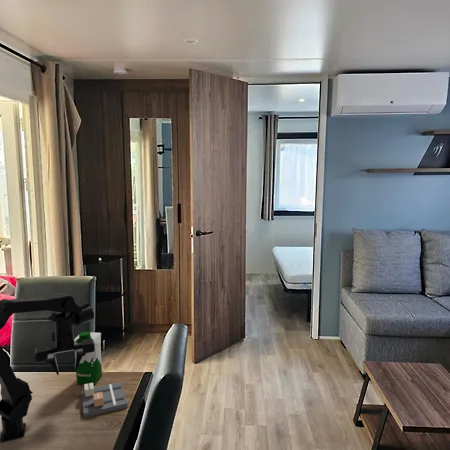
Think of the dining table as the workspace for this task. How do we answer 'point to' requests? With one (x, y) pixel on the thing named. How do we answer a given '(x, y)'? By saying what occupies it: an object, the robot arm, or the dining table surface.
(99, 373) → the milk carton
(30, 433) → the dining table surface
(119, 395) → the console
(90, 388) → the fader ivory
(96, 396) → the fader terracotta
